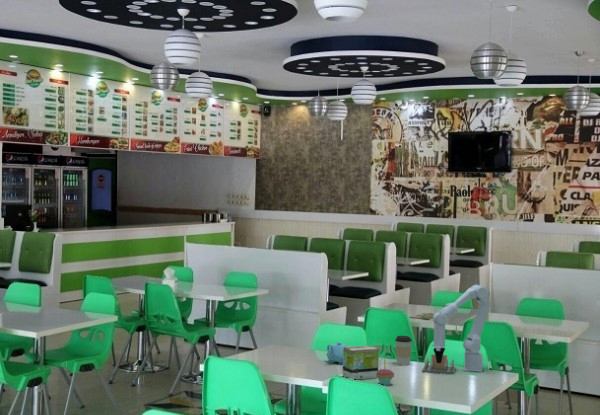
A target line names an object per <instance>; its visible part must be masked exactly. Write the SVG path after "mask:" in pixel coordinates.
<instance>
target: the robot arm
mask: <svg viewBox="0 0 600 415" xmlns="http://www.w3.org/2000/svg"><path fill="white" fill-rule="evenodd" d="M473 299H475V300H476V301H477V302H478V307H477V311H476V313H475V316H474V321H473V322H472V323H473V324H472V327H471V329H470V332H469V333H468V334H467V336H466V338H465V339H464V341H463V342H462V346H463V348H464V366H463V368H462V369H463V371H465V372H466V371H467V372H479V373H480V372H481V373H482V372H483V369H484V364H483V360H484V359H483V358H484V356H483V355H484V353H480V351H481V349H482V348H481V347H482V346H481V342H482V340H481V336H482V332H483V329H484V325H485V323H486V319H487V316H488V312H489V309H490V307H491V299H490V291H489V289H488V288H487V287H486V286H483V285H479V284H473V285H471V287H469V288H468V289H466V291H465V292H463V293H462V294H461V295H460V296H459V297H458V298H457V299H456V300H455V301H454V302H449V303H446V304H445V307H444V308H442V309H440V310H438V312H436V313H434V314H433V317H432V322H433V324H434V325H433V343H431V347H434V348H433V352H434V355H436V361H437V363H441V361H442V356H443V355H444V352H445V350H446V348H445V347H446V324H447V323H448V320H449V319H450V318H451V317H453V316H454V315H455V314H456V313H457V312H458V308H460V307H461V306H462V305H464V304H465V303H466V302H468V301H469V300H473Z"/></svg>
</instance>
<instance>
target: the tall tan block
mask: <svg viewBox="0 0 600 415" xmlns="http://www.w3.org/2000/svg"><path fill="white" fill-rule="evenodd" d="M430 355H431V356H430V357H431V358H430V359H431V361H433V369H444V363H445V362H447V359H448V355H447V354H443V356H442V361H441V363H437V361H436V355H435V353H434V354H430Z"/></svg>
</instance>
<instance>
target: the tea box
mask: <svg viewBox="0 0 600 415" xmlns="http://www.w3.org/2000/svg"><path fill="white" fill-rule="evenodd" d="M379 355H380V352H379V348H377V347H374V346H371V345H358V346H348V347H344V348H343V362H342V363H343V364H342V377H343V376H344V378H346V377H348V378H352V379H356V380H365V379H366V380H367V379H378V377H377V376H376V374H377V372H378V371H379V357H380V356H379ZM348 378H347V379H348Z"/></svg>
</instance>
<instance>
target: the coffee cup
mask: <svg viewBox="0 0 600 415" xmlns="http://www.w3.org/2000/svg"><path fill="white" fill-rule="evenodd" d="M394 341H395V346H394V347H395V356H396V365H398V364H399V366H409V365H410V364H411V362H410V360H411V355H412V342H413V340H412V338H411V337H410V336H409V335H397V336H396V338H395V339H394Z"/></svg>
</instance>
